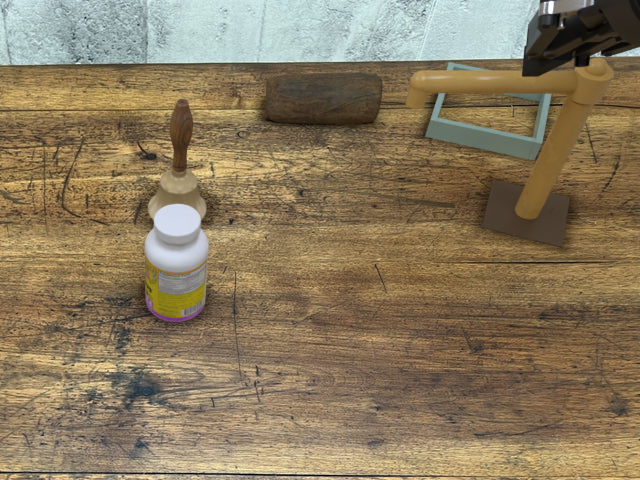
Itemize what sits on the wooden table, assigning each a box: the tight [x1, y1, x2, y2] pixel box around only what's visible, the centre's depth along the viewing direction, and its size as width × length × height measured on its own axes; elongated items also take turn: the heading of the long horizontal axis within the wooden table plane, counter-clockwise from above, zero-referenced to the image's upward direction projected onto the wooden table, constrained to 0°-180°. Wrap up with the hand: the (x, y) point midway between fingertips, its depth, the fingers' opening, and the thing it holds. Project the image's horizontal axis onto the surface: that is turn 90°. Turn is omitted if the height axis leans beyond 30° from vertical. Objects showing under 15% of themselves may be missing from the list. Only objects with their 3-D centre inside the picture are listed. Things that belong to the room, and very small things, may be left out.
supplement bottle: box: [144, 204, 210, 323], centre depth 86 cm, size 7×7×13 cm
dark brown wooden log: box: [263, 72, 384, 125], centre depth 108 cm, size 15×7×7 cm, turn 90°
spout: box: [404, 57, 615, 110], centre depth 84 cm, size 20×4×5 cm, turn 87°
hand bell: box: [147, 98, 207, 221], centre depth 94 cm, size 8×8×16 cm
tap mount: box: [481, 96, 595, 248], centre depth 91 cm, size 9×9×17 cm
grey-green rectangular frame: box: [424, 61, 552, 161], centre depth 107 cm, size 14×14×4 cm
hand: (531, 61), depth 76 cm, fingers closed
